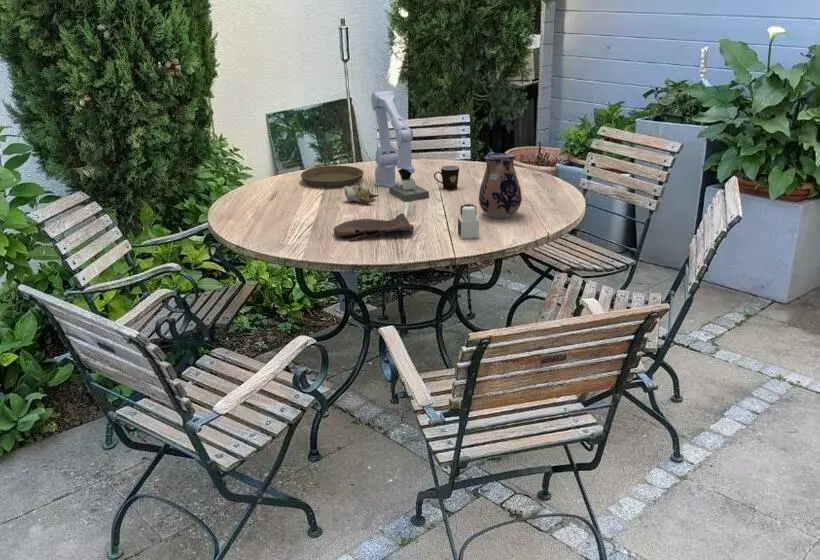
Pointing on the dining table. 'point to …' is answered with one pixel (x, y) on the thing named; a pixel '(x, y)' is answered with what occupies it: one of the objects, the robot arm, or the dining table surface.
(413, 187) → the fader
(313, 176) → the plant saucer
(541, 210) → the dining table surface
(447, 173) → the coffee mug
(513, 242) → the dining table surface
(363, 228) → the glove
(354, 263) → the dining table surface
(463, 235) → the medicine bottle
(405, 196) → the console
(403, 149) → the robot arm
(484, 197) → the ceramic pitcher
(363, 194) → the ceramic sculpture
